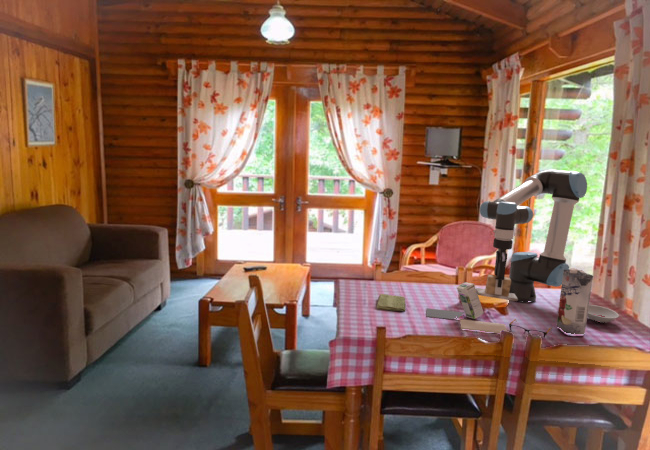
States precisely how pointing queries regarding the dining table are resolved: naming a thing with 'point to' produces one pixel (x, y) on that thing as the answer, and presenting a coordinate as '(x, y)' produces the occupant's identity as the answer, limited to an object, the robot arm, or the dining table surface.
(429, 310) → the mat
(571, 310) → the juice carton
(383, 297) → the washcloth
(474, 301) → the syrup box
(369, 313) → the dining table surface
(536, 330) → the eyeglasses
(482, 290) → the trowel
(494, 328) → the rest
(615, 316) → the dish
